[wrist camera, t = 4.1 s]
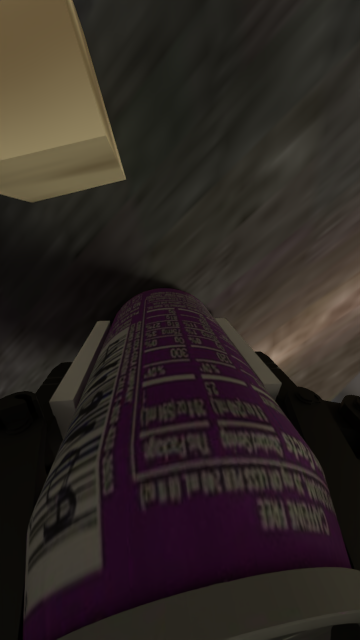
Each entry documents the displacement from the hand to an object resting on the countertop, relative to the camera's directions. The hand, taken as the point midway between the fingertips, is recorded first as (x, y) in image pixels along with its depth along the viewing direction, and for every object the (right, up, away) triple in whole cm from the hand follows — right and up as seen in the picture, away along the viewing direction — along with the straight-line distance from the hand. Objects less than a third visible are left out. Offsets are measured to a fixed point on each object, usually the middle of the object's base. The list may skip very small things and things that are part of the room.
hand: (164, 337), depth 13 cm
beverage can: (0, 0, +1) cm, 1 cm away
